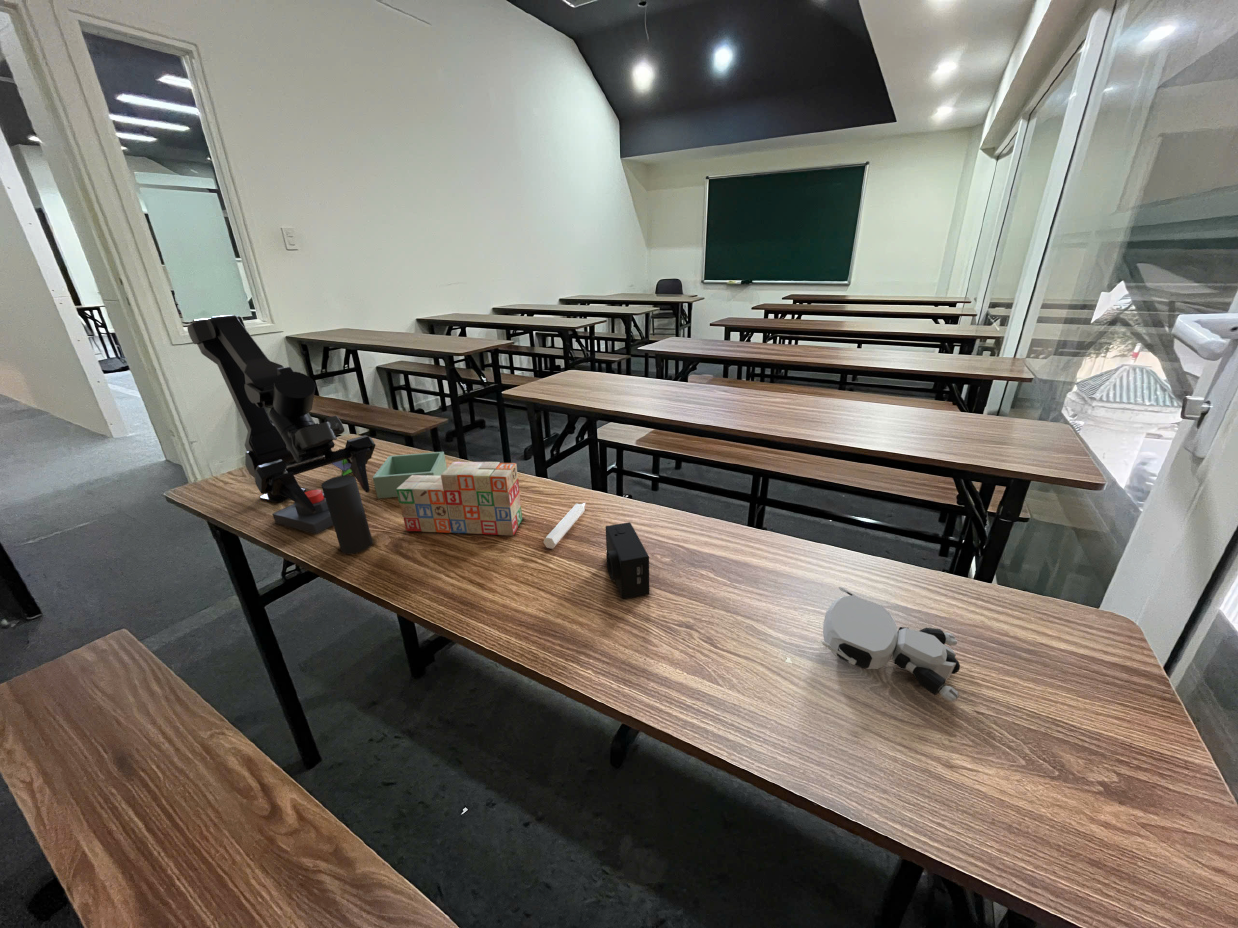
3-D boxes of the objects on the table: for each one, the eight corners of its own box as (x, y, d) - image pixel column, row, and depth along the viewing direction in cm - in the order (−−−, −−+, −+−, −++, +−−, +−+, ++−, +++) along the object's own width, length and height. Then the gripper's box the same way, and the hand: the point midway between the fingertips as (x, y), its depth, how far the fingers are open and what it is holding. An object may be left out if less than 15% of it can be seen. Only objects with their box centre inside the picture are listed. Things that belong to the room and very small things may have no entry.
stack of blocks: (405, 532, 91) (391, 473, 86) (420, 516, 97) (408, 460, 92) (514, 535, 89) (506, 475, 84) (523, 518, 95) (516, 461, 90)
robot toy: (951, 651, 62) (829, 605, 69) (963, 625, 60) (836, 580, 67) (952, 724, 52) (810, 663, 59) (966, 696, 50) (818, 636, 57)
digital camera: (599, 562, 81) (598, 526, 78) (630, 556, 82) (630, 521, 79) (614, 601, 71) (613, 562, 69) (649, 594, 73) (649, 555, 70)
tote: (377, 498, 105) (372, 477, 103) (393, 475, 116) (389, 455, 114) (437, 493, 106) (433, 472, 104) (447, 470, 118) (443, 451, 116)
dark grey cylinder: (334, 550, 86) (314, 485, 81) (359, 536, 91) (341, 473, 85) (355, 556, 84) (335, 490, 79) (379, 541, 89) (362, 477, 83)
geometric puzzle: (378, 463, 118) (357, 436, 117) (354, 474, 112) (332, 446, 111) (365, 476, 121) (345, 450, 121) (341, 487, 116) (320, 460, 115)
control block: (275, 523, 96) (269, 505, 94) (321, 501, 104) (316, 484, 103) (316, 534, 91) (310, 516, 90) (360, 510, 100) (355, 493, 98)
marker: (586, 510, 99) (551, 551, 85) (577, 504, 99) (541, 544, 85) (591, 501, 98) (557, 541, 84) (583, 495, 98) (547, 534, 84)
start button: (299, 503, 96) (296, 495, 95) (316, 495, 99) (313, 488, 98) (311, 506, 94) (309, 498, 94) (328, 498, 97) (325, 491, 97)
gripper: (236, 419, 74) (285, 501, 72) (358, 393, 88) (402, 461, 85) (238, 455, 82) (282, 531, 80) (349, 426, 95) (389, 490, 93)
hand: (342, 501), depth 84 cm, fingers open, 9 cm apart
